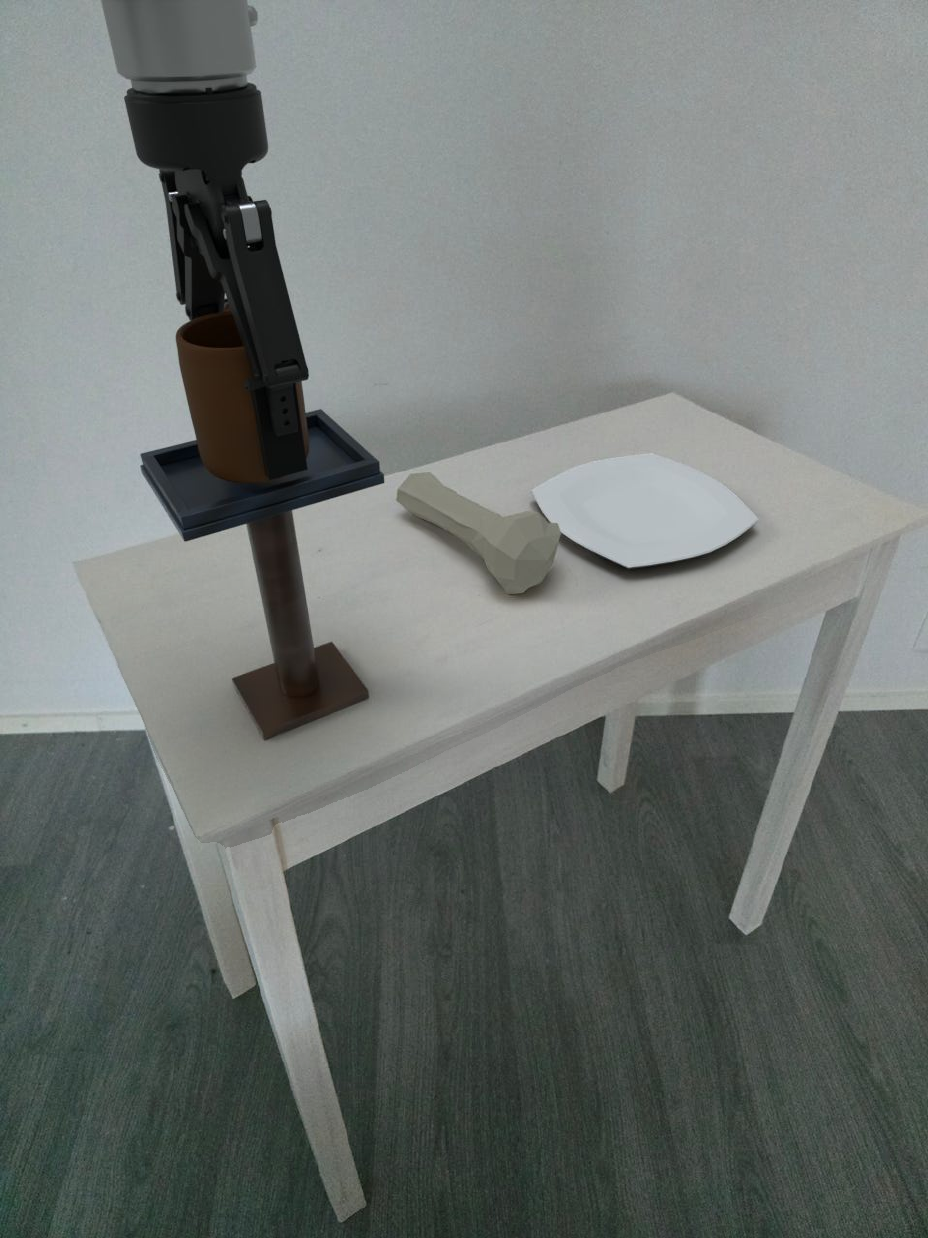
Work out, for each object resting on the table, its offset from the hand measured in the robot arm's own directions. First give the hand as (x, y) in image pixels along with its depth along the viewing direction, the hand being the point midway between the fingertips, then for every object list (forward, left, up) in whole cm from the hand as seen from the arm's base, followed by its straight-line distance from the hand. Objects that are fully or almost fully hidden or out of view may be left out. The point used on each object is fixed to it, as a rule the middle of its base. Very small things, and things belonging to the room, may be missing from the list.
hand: (255, 437), depth 60 cm
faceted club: (+2, +29, -26) cm, 38 cm away
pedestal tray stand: (0, 0, -25) cm, 25 cm away
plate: (+17, +43, -26) cm, 53 cm away
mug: (0, 0, -1) cm, 1 cm away
